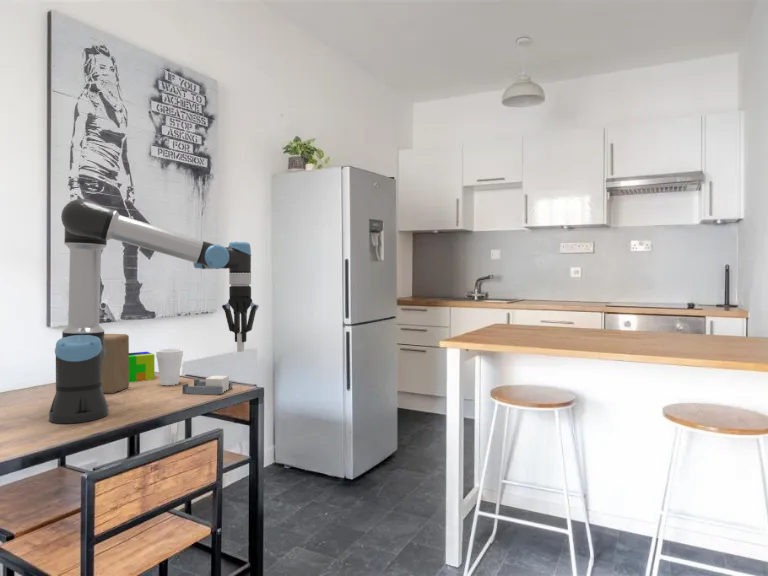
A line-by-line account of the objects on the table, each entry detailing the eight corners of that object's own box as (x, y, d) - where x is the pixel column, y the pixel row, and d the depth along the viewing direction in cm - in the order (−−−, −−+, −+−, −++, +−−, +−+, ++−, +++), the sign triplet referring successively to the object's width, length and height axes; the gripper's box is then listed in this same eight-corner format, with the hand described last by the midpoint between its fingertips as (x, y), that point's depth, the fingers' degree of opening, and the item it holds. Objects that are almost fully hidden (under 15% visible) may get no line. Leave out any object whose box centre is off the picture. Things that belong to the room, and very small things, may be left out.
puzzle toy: (147, 375, 215) (147, 351, 215) (154, 379, 208) (154, 354, 207) (120, 378, 209) (120, 353, 209) (127, 382, 201) (127, 357, 201)
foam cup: (159, 387, 192) (159, 352, 192) (153, 383, 200) (153, 349, 199) (185, 384, 198) (185, 350, 197) (179, 380, 205) (179, 347, 205)
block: (221, 393, 184) (221, 379, 184) (205, 392, 185) (205, 378, 184) (228, 389, 190) (228, 376, 190) (212, 389, 191) (212, 375, 190)
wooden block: (130, 387, 192) (129, 333, 191) (113, 394, 182) (113, 337, 181) (104, 387, 193) (104, 333, 192) (86, 393, 183) (86, 336, 182)
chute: (220, 395, 182) (220, 386, 182) (182, 393, 183) (182, 384, 183) (232, 388, 192) (232, 380, 192) (196, 387, 194) (196, 378, 193)
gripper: (261, 285, 188) (261, 349, 189) (227, 285, 190) (227, 349, 190) (254, 285, 181) (254, 353, 182) (218, 285, 182) (218, 352, 183)
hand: (240, 351), depth 186 cm, fingers closed
